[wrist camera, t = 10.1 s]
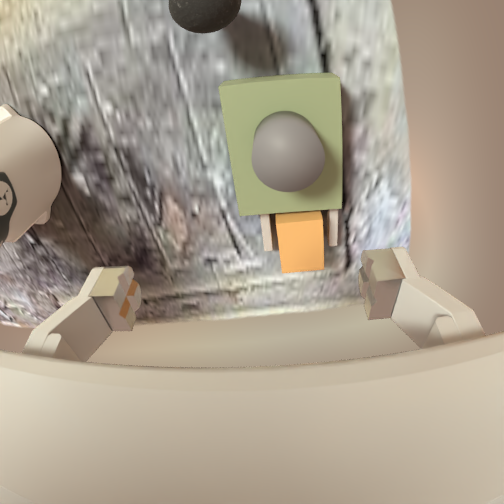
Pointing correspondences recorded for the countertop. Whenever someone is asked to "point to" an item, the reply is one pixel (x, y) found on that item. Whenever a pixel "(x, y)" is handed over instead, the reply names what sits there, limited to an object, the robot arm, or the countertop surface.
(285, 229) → the tall orange cuboid
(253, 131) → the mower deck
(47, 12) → the countertop surface
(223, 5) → the light bulb
